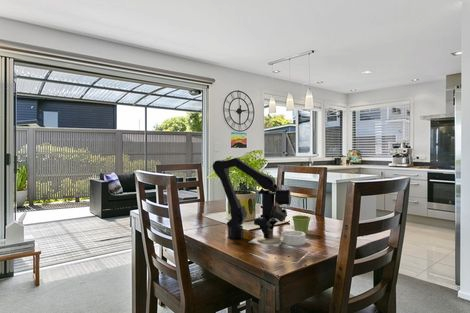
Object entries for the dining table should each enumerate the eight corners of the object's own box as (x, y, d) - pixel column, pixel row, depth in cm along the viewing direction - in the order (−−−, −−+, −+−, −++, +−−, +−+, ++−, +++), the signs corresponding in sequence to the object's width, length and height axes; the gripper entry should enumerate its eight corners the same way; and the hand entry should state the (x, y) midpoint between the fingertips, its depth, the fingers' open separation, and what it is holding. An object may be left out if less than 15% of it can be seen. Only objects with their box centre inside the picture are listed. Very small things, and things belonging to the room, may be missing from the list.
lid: (252, 241, 140) (252, 230, 140) (262, 236, 149) (262, 225, 149) (274, 245, 134) (274, 233, 134) (283, 239, 144) (283, 228, 144)
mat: (248, 243, 139) (248, 242, 139) (261, 236, 151) (261, 235, 151) (276, 248, 132) (276, 246, 132) (287, 240, 144) (287, 238, 144)
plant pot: (313, 236, 151) (313, 218, 151) (295, 237, 150) (295, 219, 150) (306, 231, 161) (306, 215, 161) (289, 232, 159) (289, 215, 159)
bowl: (279, 244, 138) (279, 234, 138) (287, 238, 146) (287, 229, 146) (301, 247, 133) (301, 237, 133) (307, 241, 141) (307, 232, 141)
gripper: (276, 208, 129) (276, 244, 129) (291, 202, 145) (291, 234, 146) (253, 206, 135) (253, 241, 135) (270, 200, 151) (270, 231, 151)
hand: (268, 237), depth 142 cm, fingers open, 4 cm apart
